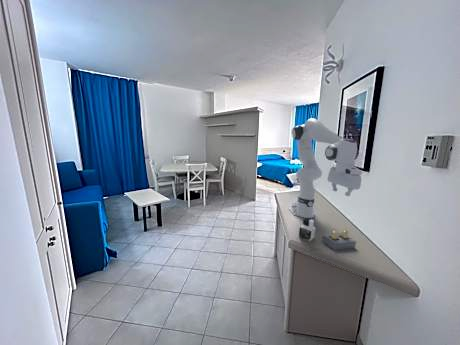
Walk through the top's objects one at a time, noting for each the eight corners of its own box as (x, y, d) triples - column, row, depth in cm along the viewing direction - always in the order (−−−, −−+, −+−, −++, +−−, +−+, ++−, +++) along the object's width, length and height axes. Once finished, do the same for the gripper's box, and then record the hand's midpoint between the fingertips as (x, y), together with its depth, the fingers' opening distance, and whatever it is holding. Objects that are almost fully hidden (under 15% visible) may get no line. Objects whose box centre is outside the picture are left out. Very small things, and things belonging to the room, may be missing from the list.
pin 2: (339, 242, 121) (340, 230, 120) (343, 242, 122) (345, 229, 121) (343, 245, 118) (345, 232, 117) (347, 244, 119) (349, 232, 118)
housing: (334, 249, 113) (335, 243, 112) (322, 240, 122) (323, 234, 122) (354, 247, 116) (356, 241, 115) (341, 239, 126) (342, 233, 125)
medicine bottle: (298, 237, 125) (300, 219, 123) (303, 233, 130) (305, 216, 128) (309, 241, 120) (312, 222, 118) (314, 237, 126) (316, 219, 124)
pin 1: (328, 243, 120) (330, 230, 118) (333, 242, 120) (335, 230, 119) (332, 246, 117) (334, 233, 115) (337, 245, 117) (339, 232, 116)
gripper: (326, 165, 120) (323, 188, 122) (354, 172, 100) (350, 198, 103) (335, 166, 121) (332, 188, 124) (365, 172, 102) (360, 198, 104)
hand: (340, 193), depth 113 cm, fingers open, 8 cm apart
